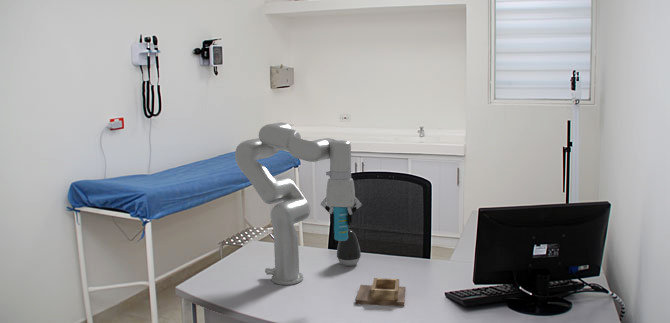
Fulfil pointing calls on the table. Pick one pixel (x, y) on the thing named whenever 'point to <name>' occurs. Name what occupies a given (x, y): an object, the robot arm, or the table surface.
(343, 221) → the tube
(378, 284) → the tube stand
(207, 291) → the table surface
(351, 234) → the dark grey egg-shaped piece
